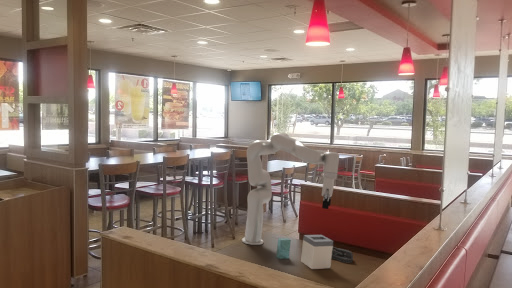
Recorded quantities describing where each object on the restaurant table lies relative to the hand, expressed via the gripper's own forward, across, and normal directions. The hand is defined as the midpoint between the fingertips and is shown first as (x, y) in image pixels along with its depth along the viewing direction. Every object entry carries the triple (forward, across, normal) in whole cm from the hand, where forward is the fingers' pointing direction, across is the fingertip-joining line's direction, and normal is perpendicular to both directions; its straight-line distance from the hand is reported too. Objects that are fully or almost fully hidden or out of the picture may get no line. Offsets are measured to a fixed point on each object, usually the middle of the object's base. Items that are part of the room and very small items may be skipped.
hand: (326, 206), depth 212 cm
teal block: (+29, +8, -19) cm, 36 cm away
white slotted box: (+29, +8, -1) cm, 30 cm away
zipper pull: (+30, -11, +4) cm, 32 cm away
